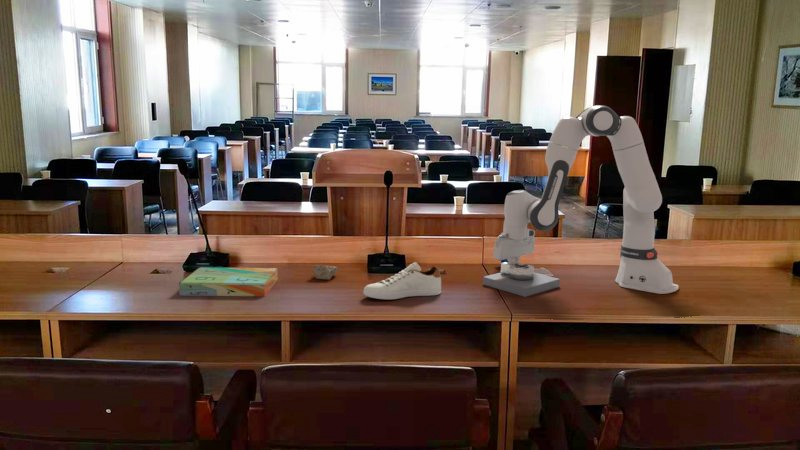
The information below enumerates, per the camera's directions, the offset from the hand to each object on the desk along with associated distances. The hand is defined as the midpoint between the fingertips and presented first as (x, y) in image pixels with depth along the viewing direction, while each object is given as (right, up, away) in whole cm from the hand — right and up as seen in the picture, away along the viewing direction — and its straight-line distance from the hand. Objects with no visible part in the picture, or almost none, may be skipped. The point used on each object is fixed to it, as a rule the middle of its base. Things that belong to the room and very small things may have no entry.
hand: (513, 267), depth 242 cm
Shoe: (-43, -9, -20) cm, 48 cm away
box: (-106, -7, -11) cm, 107 cm away
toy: (+1, -1, +20) cm, 20 cm away
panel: (+2, -6, -7) cm, 9 cm away
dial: (0, -3, -6) cm, 6 cm away
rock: (-73, -4, +3) cm, 73 cm away
